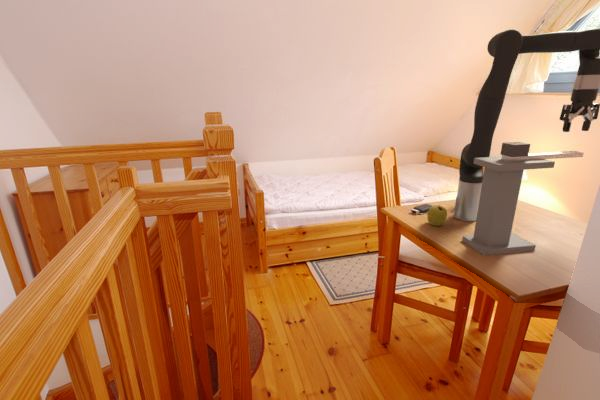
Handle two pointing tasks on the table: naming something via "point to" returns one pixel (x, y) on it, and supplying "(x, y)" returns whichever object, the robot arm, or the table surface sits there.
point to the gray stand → (500, 206)
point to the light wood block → (521, 152)
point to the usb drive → (421, 209)
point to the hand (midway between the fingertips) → (575, 131)
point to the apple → (436, 215)
